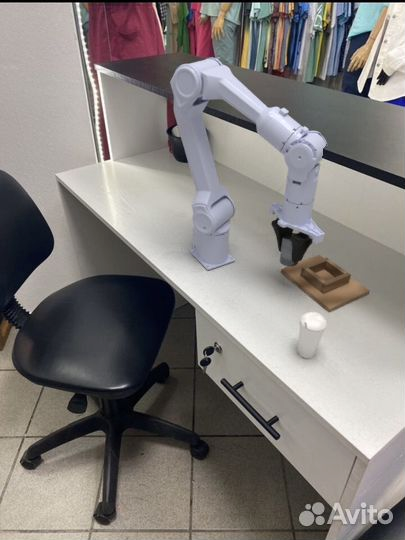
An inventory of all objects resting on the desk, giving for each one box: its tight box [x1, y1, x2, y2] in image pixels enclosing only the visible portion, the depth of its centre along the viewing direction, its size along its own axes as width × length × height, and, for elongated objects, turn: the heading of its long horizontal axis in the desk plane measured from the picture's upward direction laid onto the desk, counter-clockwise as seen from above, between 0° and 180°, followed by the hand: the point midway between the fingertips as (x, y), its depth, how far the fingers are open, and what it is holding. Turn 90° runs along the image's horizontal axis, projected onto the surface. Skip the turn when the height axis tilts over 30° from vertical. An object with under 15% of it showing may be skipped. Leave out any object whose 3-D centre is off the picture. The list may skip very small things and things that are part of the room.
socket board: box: [280, 254, 371, 313], centre depth 89 cm, size 16×12×4 cm
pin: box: [279, 232, 299, 267], centre depth 83 cm, size 4×4×6 cm
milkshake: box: [297, 311, 328, 360], centre depth 70 cm, size 4×5×10 cm
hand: (289, 255), depth 84 cm, fingers closed on pin, 4 cm apart
